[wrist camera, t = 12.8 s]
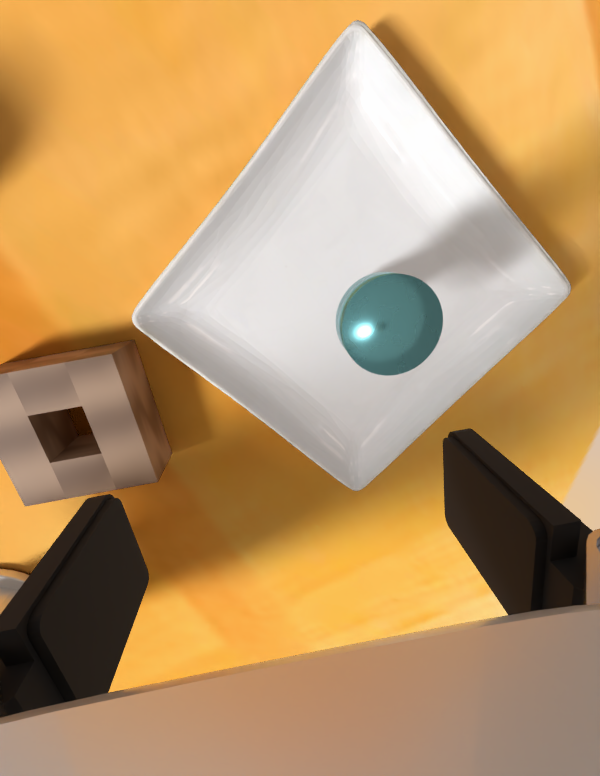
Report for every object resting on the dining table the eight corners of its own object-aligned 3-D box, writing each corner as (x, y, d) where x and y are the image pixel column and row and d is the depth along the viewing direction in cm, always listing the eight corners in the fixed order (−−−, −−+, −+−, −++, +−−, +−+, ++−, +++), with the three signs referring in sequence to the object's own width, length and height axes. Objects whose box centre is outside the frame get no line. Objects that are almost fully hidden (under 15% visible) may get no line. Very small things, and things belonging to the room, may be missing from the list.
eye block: (172, 453, 38) (157, 481, 33) (55, 474, 38) (25, 506, 33) (134, 339, 34) (111, 353, 29) (3, 363, 33) (-41, 381, 29)
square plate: (549, 285, 35) (581, 289, 31) (349, 476, 41) (357, 498, 37) (348, 36, 28) (360, 3, 24) (138, 313, 33) (122, 321, 30)
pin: (396, 334, 32) (444, 366, 23) (327, 346, 32) (348, 383, 23) (390, 261, 30) (441, 265, 21) (317, 274, 30) (336, 284, 21)
